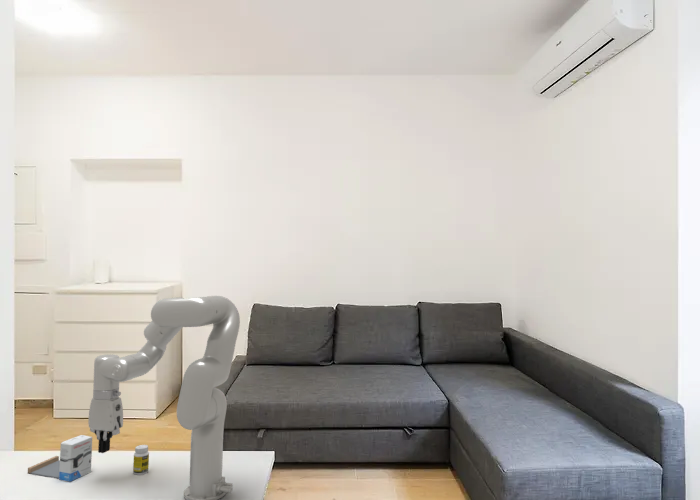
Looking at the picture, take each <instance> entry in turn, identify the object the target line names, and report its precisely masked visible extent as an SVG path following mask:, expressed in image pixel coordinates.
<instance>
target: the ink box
mask: <svg viewBox="0 0 700 500" xmlns="http://www.w3.org/2000/svg"><path fill="white" fill-rule="evenodd" d="M59 450H60V453H59V460H60V472H59V479H58V480H59V481H65V482H69V483H71V482H73V481H75V480H77V479H79V478H81V477H83V476H86V475H88V474H89V473H91V472H92V457H93V455H92V454H93V436H89V435H84V434H80V435H77V436H75V437H71V438H69V439H67V440H64V441H62V442H61V443H60V449H59Z"/></svg>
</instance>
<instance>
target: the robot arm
mask: <svg viewBox="0 0 700 500" xmlns="http://www.w3.org/2000/svg"><path fill="white" fill-rule="evenodd" d="M240 318H241V317H240V313H239V310H238V308H237V305H235V303H233V302H232V301H231V300H230V299H229V298H227V297H224V296H222V295H209V296H201V297H200V296H199V297H191V298H190V297H188V298H187V297H186V298H184V297H180V296H179V297H176V296H175V297H168V298H162V299H160V300H158V301H156V302H155V303H154V304H153V305H152V308H151V310H150V319H151V321H150V322H149V324H148V325H147V326H146V327H145V328H144V330H143V335H144V338H145V339H146V340H147V341H146V343H145V344H144V345H143V346H142V347H141V349H140V350H138V351H137V352H136V353H131V354H129V355H125V356H122V357H120V356H119V355H118V354H111V353H110V354H100V355H98V356H96V357H95V359H94V364H93V367H94V368H93V383H92V384H93V386H92V387H93V390H92V398H91V399H90V400H91V401H90V405H89V411H88V423H87V424H88V428H89V431H90V432H91V433H93V434H95V436H96V440H98V449H97V450H98V451H97V452H98V453H101V454H105V453H106V452H109V451H110V450H111V445H110V444H111V439H112V438H113V436H117V435H118V434H120V433H121V430H120V429H121V428H123V426H124V408H123V401H122V398H121V394H122V392H121V391H120V383H122V382H123V383H124V382H127V381H130V380H132V379H135V378H139V377H142V376H144V375H146V374H148V373H149V372H150V371H152V369H153V368H154V367H155V366H156V365H157V364H158V363H159V362H160V361H161V359H162V358H163V357H164V355H165V352H166V350H167V345H168V344H169V343H170V342H171V341H172V340H173V338H174V337H176V335H177V334H178V333H179V332H180V331H181V330H182V329H183V328H194V327H195V328H197V327H205V326H208V325H213V326H212V329H211V330H210V334H209V335H208V338H207V341H206V347H205V351H204V354H203V356H202V357H201V358H198V359H196V360H194V361H193V362H191V363H190V364H189V365H188V367H187V368H186V369H185V372H184V374H183V378H182V382H181V387H180V390H179V391H180V392H179V395H178V399H177V401H178V402H177V405H176V419H177V421H178V424H179V425H180V426H181V427H183V428H184V429H185V430H187V431H188V430H189V431H191V435H190V455H189V457H190V460H189V463H190V464H189V485H188V486H187V487H186V488H184V491H183V497H184V499H185V500H220V499H221V498H223V497H224V496H225V495H226V494H232V492H233V485H234V484H233V483H231V482H227V481H226V476H223V453H224V431H225V430H224V427H225V420H226V415H227V414H226V413H227V409H228V408H227V407H228V403H227V402H228V401H227V398H226V395H225V393H224V392H223V391H222V390H221V389H219V388H217V387H219V386H221V385H223V384H224V383H225V382H227V380H228V379H229V376H230V374H231V368H232V364H233V359H234V353H235V349H236V343H237V339H238V335H239V332H240V326H241V325H240V323H241V320H240Z"/></svg>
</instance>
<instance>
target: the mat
mask: <svg viewBox="0 0 700 500" xmlns="http://www.w3.org/2000/svg"><path fill="white" fill-rule="evenodd" d="M59 472H60V455H55V456H52V457H50V458H48V459H46V460H44V461H43V460H42V461H40V462H39V463H37V464H34V465H31V466H29V467H27V474H28V475H33V476H34V475H35V476H40V477H45V478H46V477H47V478H53V479H58V480H59Z"/></svg>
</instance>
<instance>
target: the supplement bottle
mask: <svg viewBox="0 0 700 500" xmlns="http://www.w3.org/2000/svg"><path fill="white" fill-rule="evenodd" d="M134 451H135V452H134V454H133V464H132V465H133V466H132V469H133V470H132V474H134V475H135V476H138V475H139V476H141V475H144V474H147V473H148V472H149V465H150V463H149V462H150V461H149V460H150V452H149V445H148V444H140V445H136V446H135V448H134Z"/></svg>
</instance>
